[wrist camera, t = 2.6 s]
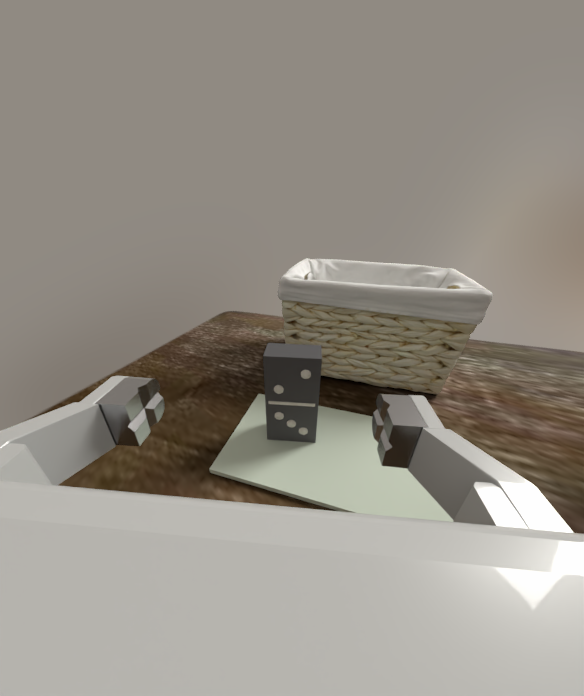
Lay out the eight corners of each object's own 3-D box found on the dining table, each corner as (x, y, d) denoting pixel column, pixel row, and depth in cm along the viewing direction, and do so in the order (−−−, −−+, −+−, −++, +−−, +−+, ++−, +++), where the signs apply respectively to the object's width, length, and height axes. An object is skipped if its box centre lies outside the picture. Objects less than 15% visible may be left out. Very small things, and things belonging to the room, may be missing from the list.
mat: (444, 434, 28) (445, 431, 27) (481, 554, 18) (484, 550, 18) (258, 396, 33) (258, 393, 33) (210, 472, 23) (209, 469, 23)
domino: (315, 424, 28) (321, 345, 23) (315, 443, 26) (322, 359, 21) (270, 421, 28) (267, 342, 24) (266, 440, 26) (262, 356, 21)
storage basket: (429, 348, 46) (454, 264, 39) (456, 407, 32) (503, 292, 25) (300, 333, 51) (302, 256, 44) (275, 378, 37) (273, 276, 30)
